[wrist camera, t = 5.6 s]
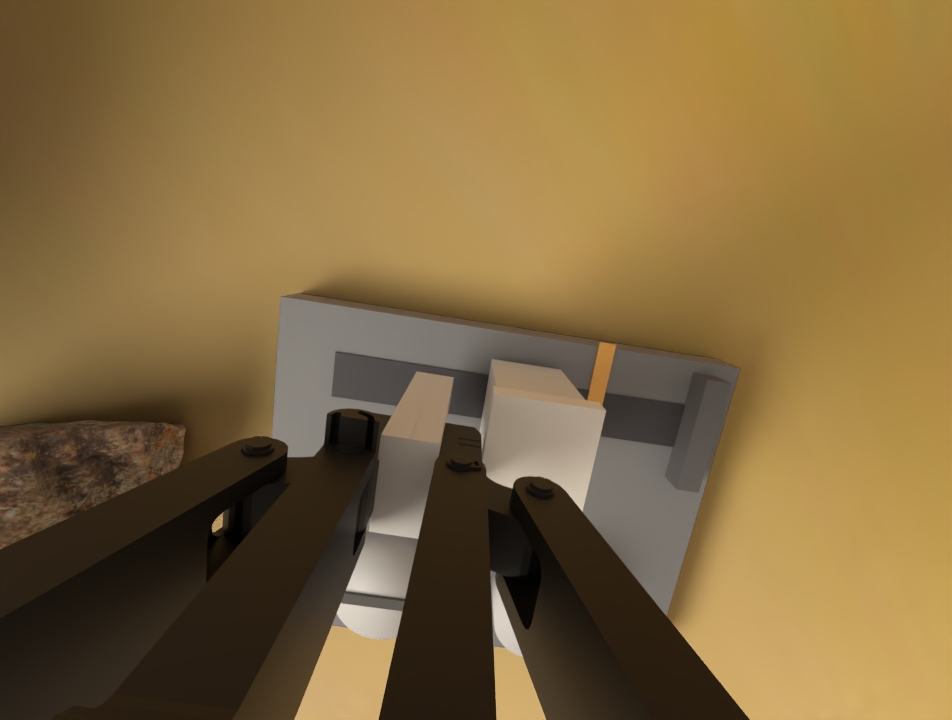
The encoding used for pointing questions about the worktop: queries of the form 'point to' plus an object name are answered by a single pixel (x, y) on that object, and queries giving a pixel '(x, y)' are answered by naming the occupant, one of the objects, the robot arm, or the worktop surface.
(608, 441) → the console
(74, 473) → the rock
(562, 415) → the fader tab
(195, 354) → the worktop surface
